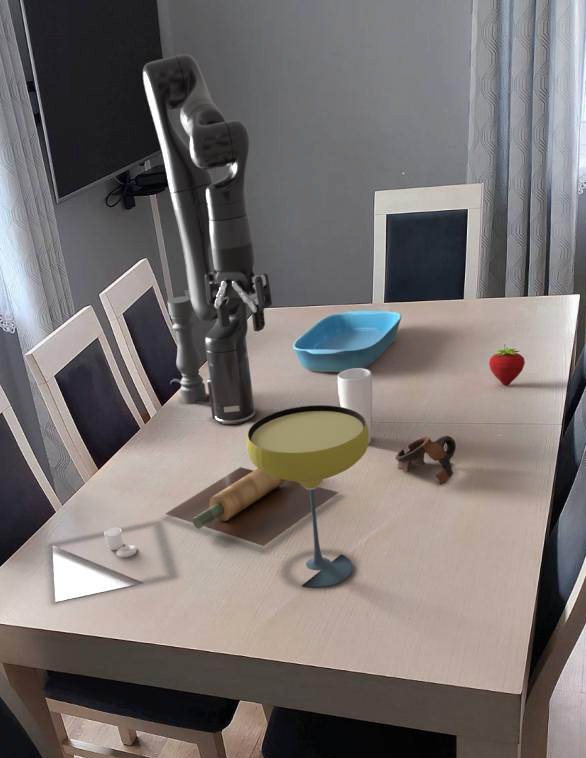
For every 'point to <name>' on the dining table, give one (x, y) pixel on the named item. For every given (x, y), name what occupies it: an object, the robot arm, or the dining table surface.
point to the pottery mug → (435, 453)
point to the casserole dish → (347, 340)
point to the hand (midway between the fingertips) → (241, 328)
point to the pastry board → (256, 509)
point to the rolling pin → (237, 497)
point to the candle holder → (186, 350)
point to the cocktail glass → (310, 461)
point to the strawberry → (506, 365)
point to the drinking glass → (356, 392)
